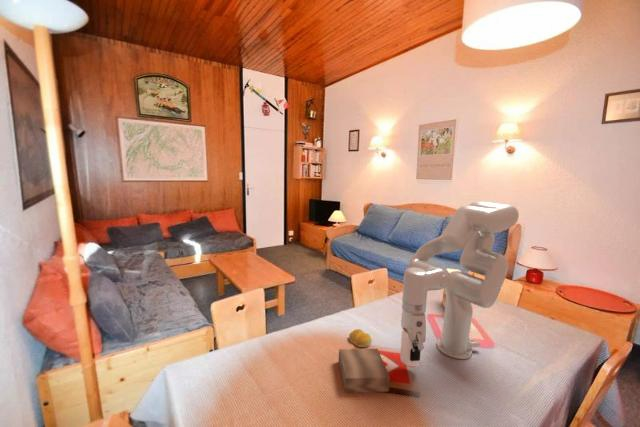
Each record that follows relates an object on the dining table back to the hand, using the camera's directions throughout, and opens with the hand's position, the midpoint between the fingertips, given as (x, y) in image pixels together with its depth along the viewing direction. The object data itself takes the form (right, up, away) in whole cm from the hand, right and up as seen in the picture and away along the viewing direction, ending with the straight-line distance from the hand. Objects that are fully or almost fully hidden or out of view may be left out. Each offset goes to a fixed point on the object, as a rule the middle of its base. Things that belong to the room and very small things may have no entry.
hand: (410, 352), depth 96 cm
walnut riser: (-17, -7, -2) cm, 18 cm away
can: (0, -3, +1) cm, 3 cm away
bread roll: (-15, -4, +18) cm, 23 cm away
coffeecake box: (+36, -2, +45) cm, 58 cm away
